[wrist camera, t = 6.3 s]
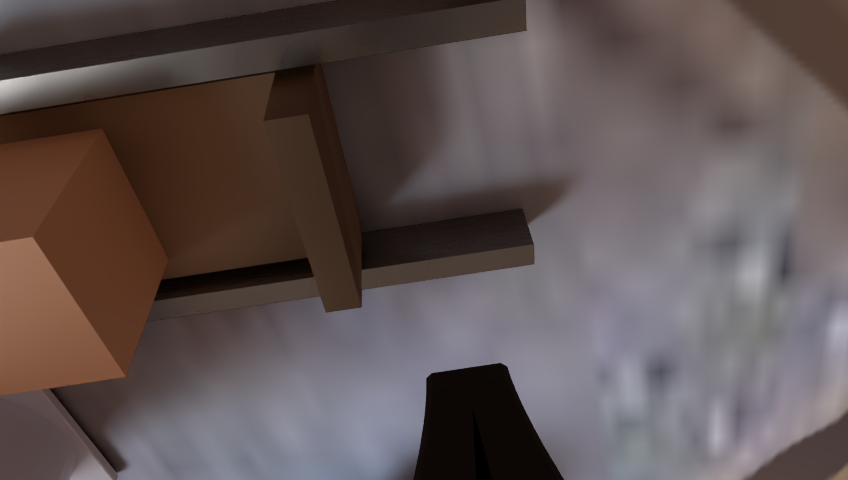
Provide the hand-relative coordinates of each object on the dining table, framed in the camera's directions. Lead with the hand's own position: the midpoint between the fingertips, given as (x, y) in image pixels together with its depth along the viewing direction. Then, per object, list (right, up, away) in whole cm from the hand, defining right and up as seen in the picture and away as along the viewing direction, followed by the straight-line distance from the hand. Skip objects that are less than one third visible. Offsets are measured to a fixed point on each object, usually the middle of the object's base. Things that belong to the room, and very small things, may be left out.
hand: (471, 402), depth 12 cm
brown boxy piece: (-11, +5, +7) cm, 14 cm away
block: (-11, +4, +6) cm, 13 cm away
